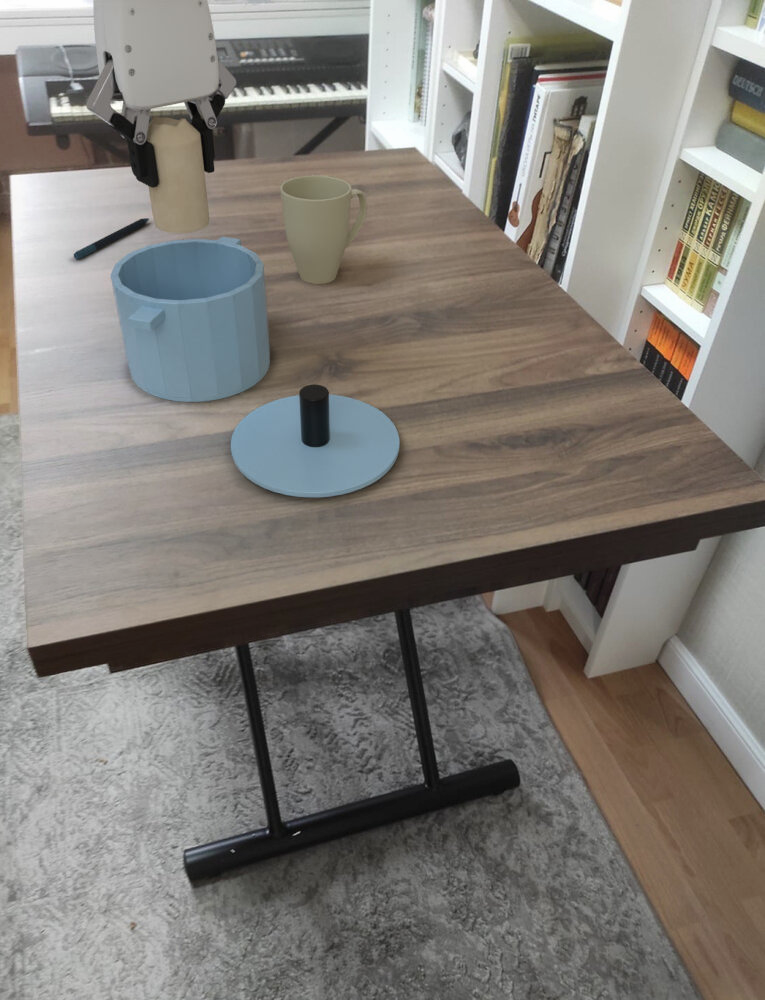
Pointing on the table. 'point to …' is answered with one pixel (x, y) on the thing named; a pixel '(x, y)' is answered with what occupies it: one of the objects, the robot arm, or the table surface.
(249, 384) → the pot
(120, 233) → the pen
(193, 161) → the candle
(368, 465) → the lid
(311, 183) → the mug
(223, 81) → the robot arm
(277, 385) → the table surface
